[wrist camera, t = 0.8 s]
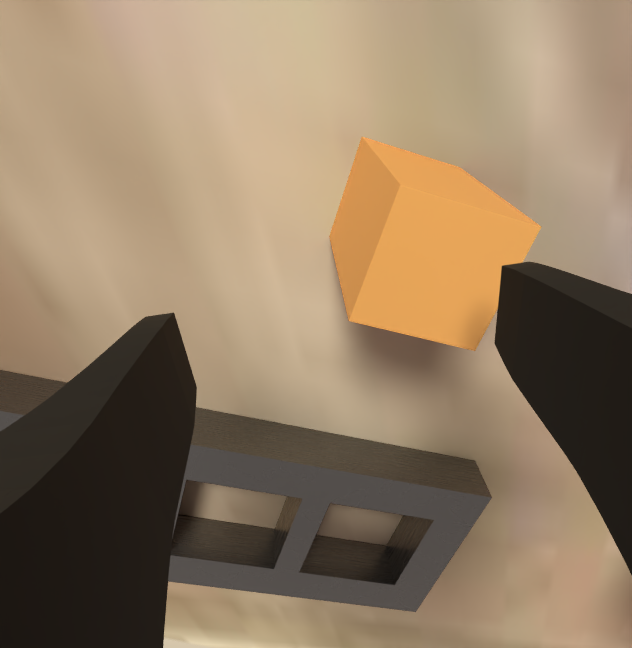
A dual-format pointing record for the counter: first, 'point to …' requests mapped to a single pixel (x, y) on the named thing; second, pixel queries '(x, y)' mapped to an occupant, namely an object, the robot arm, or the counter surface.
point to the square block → (423, 246)
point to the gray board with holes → (309, 508)
